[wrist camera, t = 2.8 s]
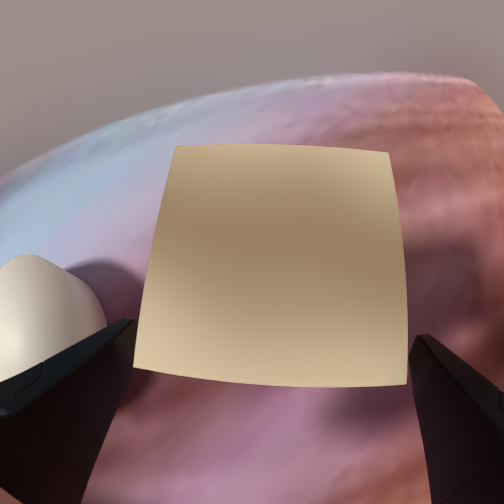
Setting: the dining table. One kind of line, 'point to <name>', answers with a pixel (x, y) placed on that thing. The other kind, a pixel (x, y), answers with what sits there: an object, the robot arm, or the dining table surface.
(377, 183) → the maple block
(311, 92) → the dining table surface
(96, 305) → the cream plinth
